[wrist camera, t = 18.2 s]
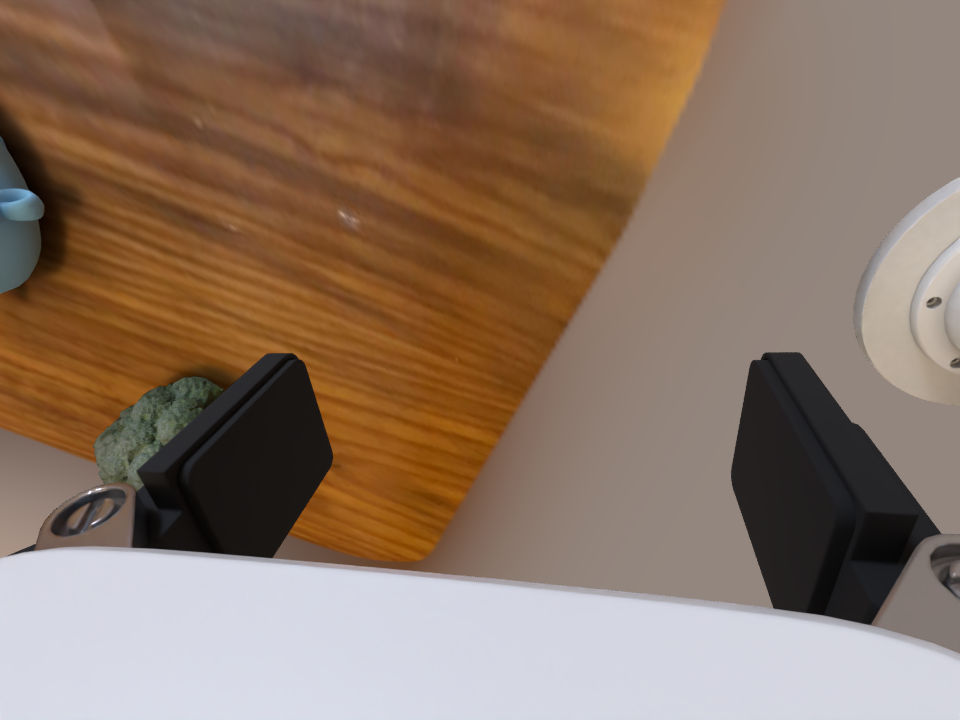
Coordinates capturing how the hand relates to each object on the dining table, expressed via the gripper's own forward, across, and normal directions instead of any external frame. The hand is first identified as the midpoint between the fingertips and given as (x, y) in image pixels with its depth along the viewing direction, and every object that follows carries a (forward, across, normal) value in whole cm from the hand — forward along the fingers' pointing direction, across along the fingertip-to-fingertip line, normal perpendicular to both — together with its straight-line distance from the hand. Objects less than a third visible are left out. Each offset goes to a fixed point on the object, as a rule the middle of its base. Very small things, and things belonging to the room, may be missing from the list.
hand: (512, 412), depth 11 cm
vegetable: (+26, +32, +20) cm, 46 cm away
